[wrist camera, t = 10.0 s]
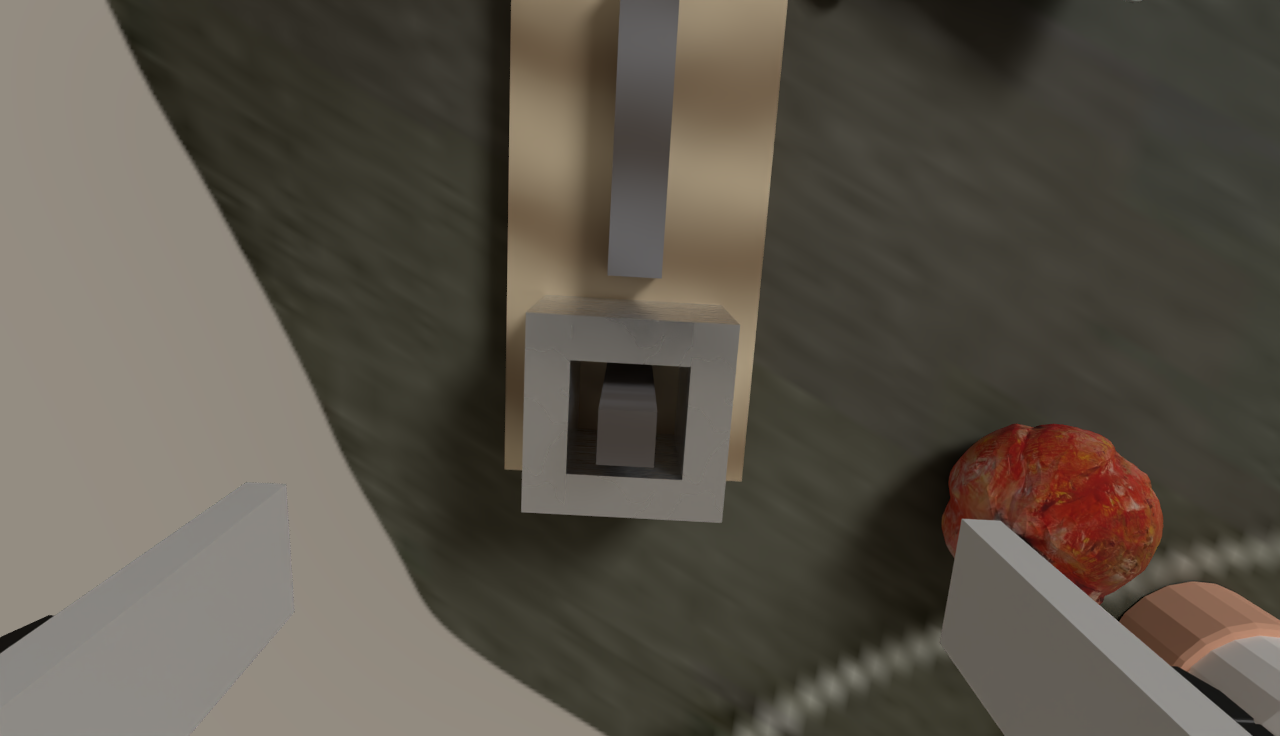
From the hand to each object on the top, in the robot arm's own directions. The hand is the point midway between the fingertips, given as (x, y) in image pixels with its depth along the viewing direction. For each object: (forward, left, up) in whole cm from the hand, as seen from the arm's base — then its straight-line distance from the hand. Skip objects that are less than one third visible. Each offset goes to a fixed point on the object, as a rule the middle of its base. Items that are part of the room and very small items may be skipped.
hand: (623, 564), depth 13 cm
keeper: (-6, 0, -16) cm, 17 cm away
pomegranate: (+4, +17, -17) cm, 24 cm away
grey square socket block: (0, 0, -15) cm, 15 cm away
